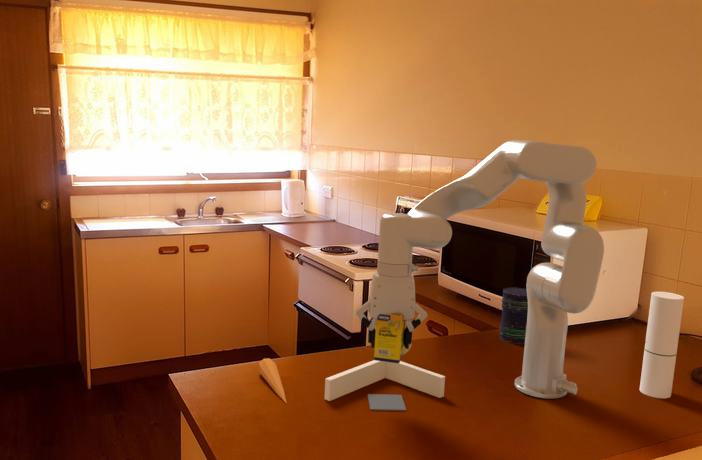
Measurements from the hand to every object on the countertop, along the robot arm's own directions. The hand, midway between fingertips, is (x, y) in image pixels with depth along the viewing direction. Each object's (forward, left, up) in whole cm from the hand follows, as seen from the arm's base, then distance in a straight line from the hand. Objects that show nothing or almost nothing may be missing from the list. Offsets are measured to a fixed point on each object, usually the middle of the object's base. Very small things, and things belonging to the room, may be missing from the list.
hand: (389, 345), depth 145 cm
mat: (0, 0, -14) cm, 14 cm away
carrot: (+24, +13, -14) cm, 31 cm away
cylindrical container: (-42, -55, -14) cm, 71 cm away
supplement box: (0, 0, -3) cm, 3 cm away
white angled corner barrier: (+2, -2, -14) cm, 14 cm away
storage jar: (+2, -66, -14) cm, 68 cm away
